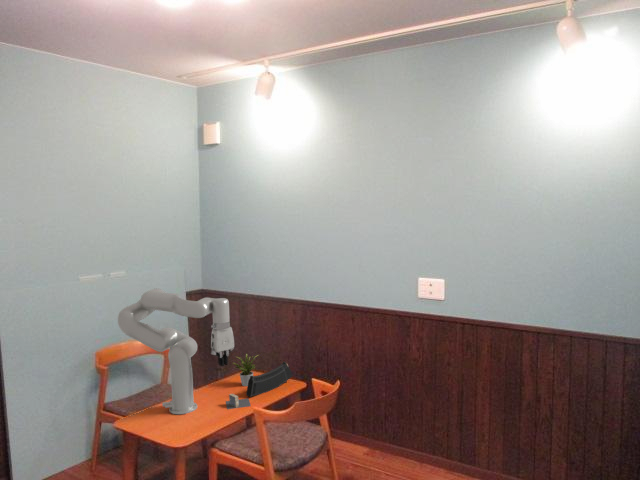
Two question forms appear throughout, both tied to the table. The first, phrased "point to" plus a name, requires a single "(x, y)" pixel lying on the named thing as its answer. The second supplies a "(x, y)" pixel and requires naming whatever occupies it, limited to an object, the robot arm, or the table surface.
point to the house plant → (245, 370)
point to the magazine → (268, 380)
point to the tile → (233, 400)
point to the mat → (241, 404)
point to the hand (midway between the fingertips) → (223, 364)
